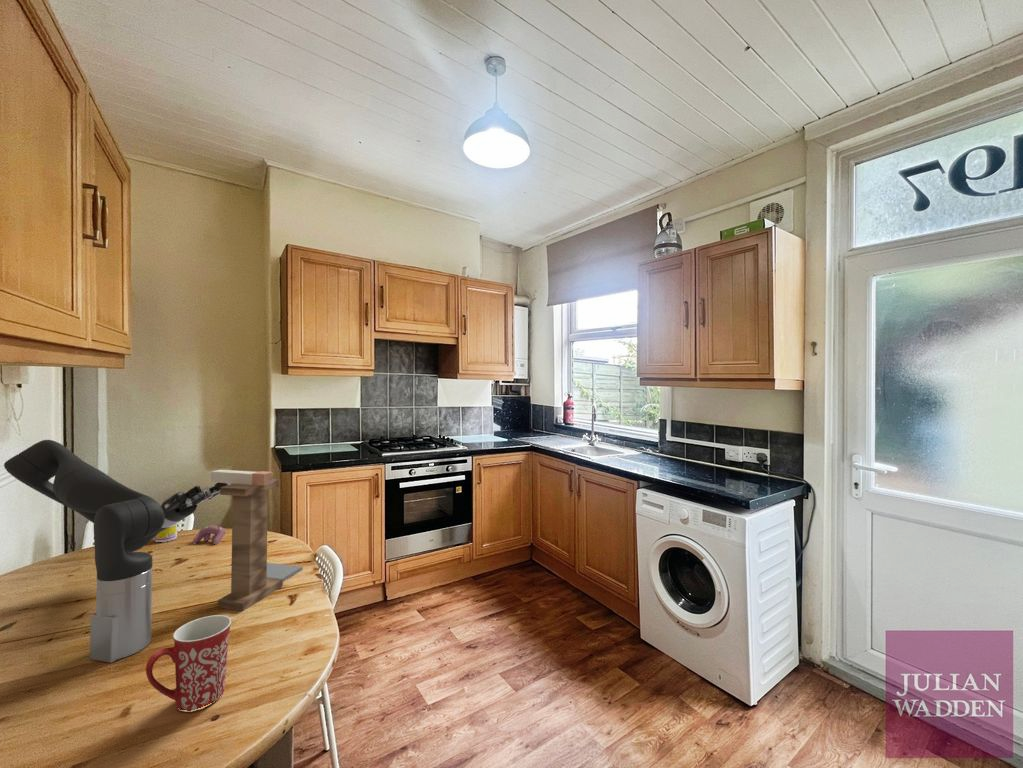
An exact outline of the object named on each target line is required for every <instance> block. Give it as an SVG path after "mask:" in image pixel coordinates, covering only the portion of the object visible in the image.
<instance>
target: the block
mask: <svg viewBox="0 0 1023 768" xmlns="http://www.w3.org/2000/svg"><path fill="white" fill-rule="evenodd" d="M273 479H274V471H267V470H266V471H262V470H261V471H251V470H234V469H233V470H232V469H218V470H213V471H210V483H228V484H248V485H262V486H265V485H268V484H272V483H273Z"/></svg>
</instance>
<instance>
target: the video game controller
mask: <svg viewBox="0 0 1023 768" xmlns="http://www.w3.org/2000/svg"><path fill="white" fill-rule="evenodd" d="M226 534H227V529H226V528H224V527H222V526H219V525H208V526H203V527H202V528H201V529H200V530H199V531H198V533H197V534H196V535H195V537H194V538H193V539H192V543H193V544H194V543H196V544H198V543H199V542H200V541H202V539H203V542H209V541H208V540H210V541H212V544H213V545H214V544H216V545H218V544H219V543H220V542H221V541H222V539H223V537H224V536H225V535H226ZM197 542H198V543H197ZM217 543H218V544H217Z"/></svg>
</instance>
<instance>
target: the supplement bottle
mask: <svg viewBox="0 0 1023 768" xmlns="http://www.w3.org/2000/svg"><path fill="white" fill-rule="evenodd" d="M177 538H178V523H176V524H174V525H172V526H170V527H168V528H166V529H165V530H163V531H161V532H160V533H158V534H157V535H156V536H155V537H154V541H155V542H156V543H158V542H162V543H167V541H168V542H172V541H174V540H175V539H177ZM171 540H172V541H171Z"/></svg>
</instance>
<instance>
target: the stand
mask: <svg viewBox="0 0 1023 768" xmlns="http://www.w3.org/2000/svg"><path fill="white" fill-rule="evenodd" d="M279 483H280V479H277V478H273V483H272V484H268V485H265V486H262V485H248V484H233V483H230V484H228V485H227V486H223V487H220V494H219V495H222V496H232V511H231V513H232V516H231V518H232V519H231V520H232V521H231V571H230V572H231V573H230V574H231V576H230V577H231V578H230V579H231V580H230V583H231V584H230V586H231V587H230V593H228V594H226V595H224V596H223V597H221V598H219V599H218V600H217V608H218V609H219V608H220V609H226V610H227V609H228V610H235V611H240V610H241V612H244V611H245V610H247V609H248V608H251V607H252V606H254V605H255V604H257V603H258V602H260V601H262V600H263V599H265V598H266V597H268V596H270V595H271V594H273V593H274V592H275V591H277V590H279V589H281V588H282V587H283V585H284V581H283V579H275V578H267V563H268V518H269V517H268V516H269V515H268V514H269V511H268V510H269V509H268V507H269V500H268V499H269V496H268V495H269V490H270V489H274V488H277V487H279Z"/></svg>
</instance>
